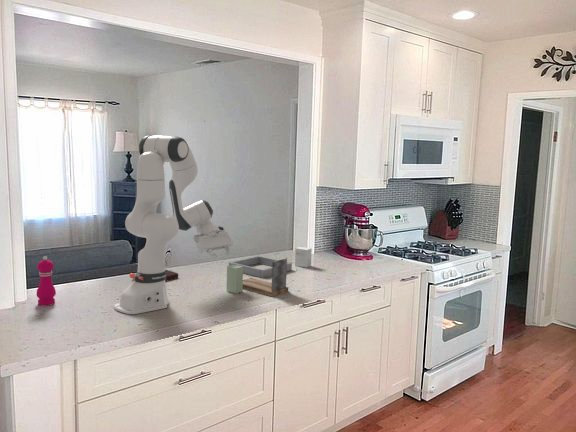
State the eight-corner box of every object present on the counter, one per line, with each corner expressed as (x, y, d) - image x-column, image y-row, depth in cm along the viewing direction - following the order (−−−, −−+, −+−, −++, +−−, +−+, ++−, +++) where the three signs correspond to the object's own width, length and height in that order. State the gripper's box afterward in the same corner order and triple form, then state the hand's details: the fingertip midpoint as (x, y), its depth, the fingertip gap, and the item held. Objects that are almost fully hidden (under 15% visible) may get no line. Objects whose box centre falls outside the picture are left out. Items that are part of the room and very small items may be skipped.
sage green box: (235, 293, 231) (236, 268, 229) (226, 290, 235) (227, 266, 233) (242, 291, 234) (243, 266, 233) (233, 289, 238) (233, 264, 236)
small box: (311, 266, 290) (312, 248, 289) (306, 267, 286) (307, 249, 284) (299, 264, 295) (300, 246, 293) (294, 265, 290) (295, 247, 289)
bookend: (272, 296, 228) (273, 262, 226) (234, 286, 243) (235, 254, 241) (288, 291, 238) (289, 258, 236) (250, 281, 252) (251, 250, 250)
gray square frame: (262, 278, 260) (262, 270, 259) (228, 269, 275) (228, 262, 275) (291, 269, 280) (292, 262, 279) (258, 262, 295) (258, 255, 294)
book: (178, 278, 254) (178, 272, 254) (148, 286, 238) (148, 279, 238) (162, 274, 261) (162, 268, 261) (131, 281, 245) (131, 275, 245)
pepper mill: (43, 307, 202) (42, 259, 199) (33, 303, 206) (31, 256, 203) (59, 303, 208) (58, 256, 205) (49, 299, 212) (48, 253, 209)
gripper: (195, 231, 232) (209, 255, 228) (226, 226, 248) (240, 249, 244) (188, 239, 236) (202, 263, 231) (220, 234, 252) (233, 256, 247)
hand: (222, 256), depth 238 cm, fingers open, 8 cm apart
